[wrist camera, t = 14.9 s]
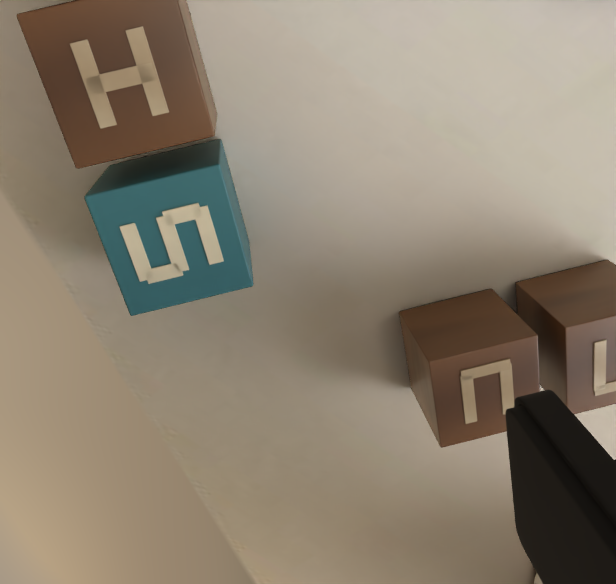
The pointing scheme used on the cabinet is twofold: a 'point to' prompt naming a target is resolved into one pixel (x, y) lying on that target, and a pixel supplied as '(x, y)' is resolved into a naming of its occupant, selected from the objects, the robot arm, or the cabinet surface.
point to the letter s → (172, 227)
